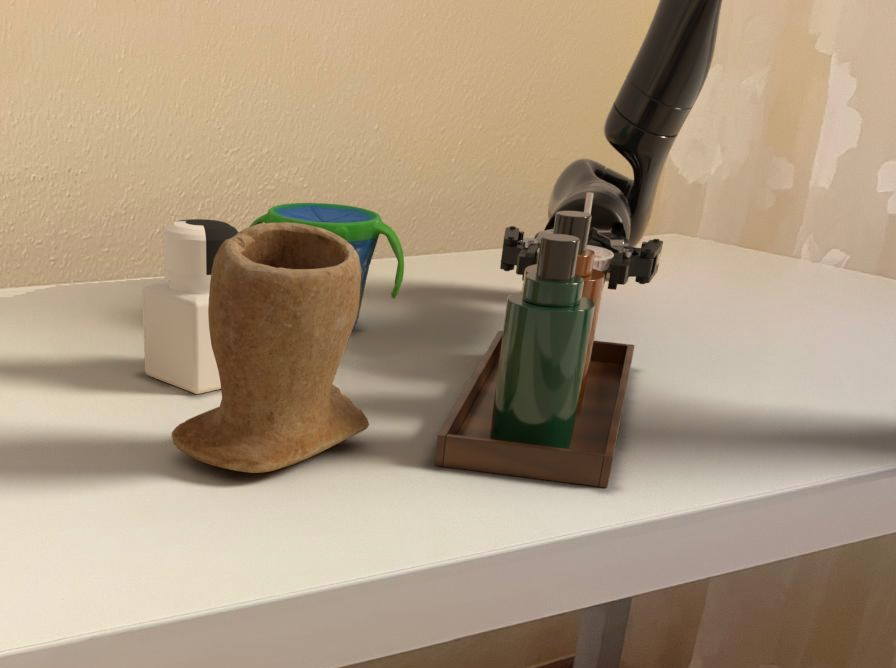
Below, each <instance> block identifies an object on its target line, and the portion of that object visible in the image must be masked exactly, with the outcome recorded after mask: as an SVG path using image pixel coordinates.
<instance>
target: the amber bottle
mask: <svg viewBox="0 0 896 668" xmlns="http://www.w3.org/2000/svg"><path fill="white" fill-rule="evenodd" d="M591 217H592V216H591V214H589V213H585V212H579V211H559V212H557V213H556V216H555V223H554V230H553V234H564V235H571V236H575V237H578V238H579V239H580V244H579V250H578V256H577V263H576V269H575V275H577V276H580V277H582V278H583V279H584V285H583V291H582V297H585V298H588V299H590V300H592V301H593V302H594V303H595V309H594V315H593V321H592V326H591V332H590V338H589V344H588V350H587V356H586V362H585V368H584V373H583V379H582V385H581V391H580V397H579V403H578V409H577V413H578V412H580V411H581V410H582V407H583V401H584V395H585V389H586V383H587V378H588V372H589V366H590V360H591V354H592V349H593V343H594V341H595V336H596V331H597V326H598V325H597V324H598V319H599V313H600V307H601V303H602V297H603V296H602V295H603V291H602V290H604V287H603V285H604V286H605V283H604V279H605V274H604V273H603V272H601V271H599V270H596V269H593V263H594V257H595V252H594V251H592V250H590V249H587V248H586V247H587V241H588V235H589V229H590V223H591ZM536 269H537V264H536V265H531V266H528V267H526V268H525V273H524V280H525V275H526V274H528V273H531V272H536ZM524 280H523V282H522V286H521V287H522V289H521V292H523V288H524Z"/></svg>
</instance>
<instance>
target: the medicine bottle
mask: <svg viewBox="0 0 896 668" xmlns="http://www.w3.org/2000/svg"><path fill="white" fill-rule="evenodd" d="M239 232H240V231H238V229H237V228H236V227H234V226H233V225H231V224H229V223H227V222H225V221H222V220H216V219H206V218H194V219H193V218H192V219H182V220H177V221H174V222H173V223H171V224H169V225H167V226H166V227H165V228H164V230H163V231H162V241H163V242H162V243H163V248H162V249H163V276H164V278H165V279H166V280H168V281H166V282H161V283H160V282H159V283H154V284H153V283H152V284H147V285H144V286H143V287H142V289H141V298H142V299H141V300H142V323H143V324H142V325H143V347H144V349H143V350H144V351H143V352H144V371H145V374H146V375H147V376H149V377H150V378H153V379H156V380H159V381H161V382H164V383H167V384H169V385H171V386H175V387H177V388H179V389H182V390H185V391H188V392H190V393H192V394H195V395H200V394H204V393H209V392H213V391H217V390H221V384H220V377H219V372H218V367H217V364H216V360H215V356H214V353H213V350H212V346H211V339H210V331H209V319H208V306H209V291H210V280H211V272H212V267H213V262H214V258H215V256H216V253H217V251H218V250H219V248H220V246H221V245H222V243H223V242H224V241H225V240H226V239H230V238H232V237H233V236H235V235H236V234H238V233H239Z"/></svg>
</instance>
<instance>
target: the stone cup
mask: <svg viewBox="0 0 896 668" xmlns="http://www.w3.org/2000/svg"><path fill="white" fill-rule="evenodd" d="M238 232H239V233H238V234H236V235H235V236H233V237H232V238H230V239H226V240H225V241H224V242H223V243H222V245H221V246H220V248H219V250H218V251H217V253H216V256H215V258H214V262H213V267H212V272H211V280H210V291H209V306H208V319H209V331H210V339H211V346H212V350H213V353H214V356H215V360H216V364H217V367H218V372H219V377H220V384H221V389H220V392H221V400H220V404H219V406H217V407H215V408H213V409H210V410H208V411H205V412H203V413H200V414H197V415H195V416H193V417H190V418H188V419H186V420H185V421H184V422H183V421H182V423H181V422H180V424H178V425H176V427H175V428H174V429H173V430H172V431H171V440H172V443H173V445H174V446H175V448H176V449H178V450H180V451H181V453H184V454H185V455H187V456H189V457H190V458H193V459H195V460H196V461H199V462H202V463H205V464H207V465H209V466H213V467H218V468H221V469H225V470H231V471H235V472H243V473H249V474H256V473H259V474H261V473H268V472H273V471H277V470H280V469H283V468H286V467H289V466H292V465H295V464H297V463H299V462H302V461H305V460H306V459H309V458H311V457H314V456H316V455H318V454H320V453H322V452H324V451H325V450H328V449H330V448H332V447H334V446H336V445H338V444H340V443H342V442H344V441H346V440H348V439H350V438H352V437H354V436H356V435H358V434H360V433H362V432H363V431H365V430H367V429H368V427H369V426H370V421H369V419H368V417H367V416H366V415H365V414H364V412H363V411H362V409H361V408H360V407H357V405H356V404H355V403H354V402H353V401H352V400H351V399H350V398H349V397H348V396H347V395H345V394H343V393H342V392H341V390H340V388H339V387H338V386H336V385H335V384H334V381H335V377H336V375H337V372H338V368H339V366H340V363H341V360H342V358H343V355H344V352H345V350H346V347H347V344H348V341H349V339H350V337H351V334H352V332H353V330H354V328H353V327H354V324H355V321H356V317H357V313H358V309H359V298H360V285H361V266H360V260H359V255H358V254H357V252H356V251H355V249H354V247H353V246H352V245H351V244H349V243H348V242H347V241H346V240H345V239H343V238H341V237H340V236H338V235H336V234H334V233H332V232H330V231H328V230H325V229H322V228H318V227H314V226H309V225H305V224H299V223H289V222H285V223H264V222H263V223H260V224H257V225H254V226H251V227H249V226H248V227H245V228H244V229H242V230H240V231H238Z"/></svg>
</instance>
